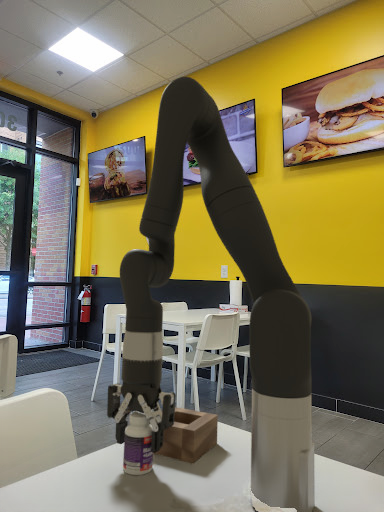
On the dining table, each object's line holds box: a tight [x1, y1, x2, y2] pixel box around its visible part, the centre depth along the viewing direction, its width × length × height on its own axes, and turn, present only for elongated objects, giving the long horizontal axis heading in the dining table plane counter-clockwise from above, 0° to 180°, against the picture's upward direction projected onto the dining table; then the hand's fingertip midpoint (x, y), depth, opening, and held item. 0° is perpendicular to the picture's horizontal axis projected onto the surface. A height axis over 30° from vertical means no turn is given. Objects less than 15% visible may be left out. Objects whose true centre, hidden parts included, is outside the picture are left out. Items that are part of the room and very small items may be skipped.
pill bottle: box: [122, 411, 154, 476], centre depth 69 cm, size 5×5×10 cm
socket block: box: [150, 406, 219, 464], centre depth 79 cm, size 12×12×6 cm
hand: (138, 446), depth 69 cm, fingers open, 7 cm apart
